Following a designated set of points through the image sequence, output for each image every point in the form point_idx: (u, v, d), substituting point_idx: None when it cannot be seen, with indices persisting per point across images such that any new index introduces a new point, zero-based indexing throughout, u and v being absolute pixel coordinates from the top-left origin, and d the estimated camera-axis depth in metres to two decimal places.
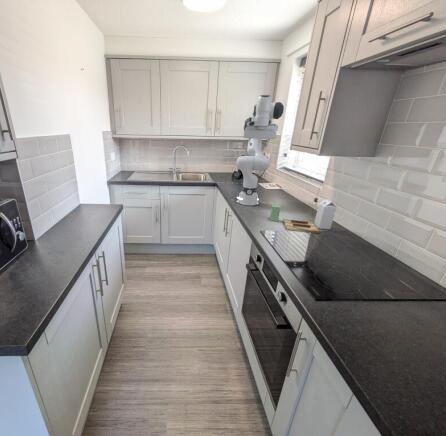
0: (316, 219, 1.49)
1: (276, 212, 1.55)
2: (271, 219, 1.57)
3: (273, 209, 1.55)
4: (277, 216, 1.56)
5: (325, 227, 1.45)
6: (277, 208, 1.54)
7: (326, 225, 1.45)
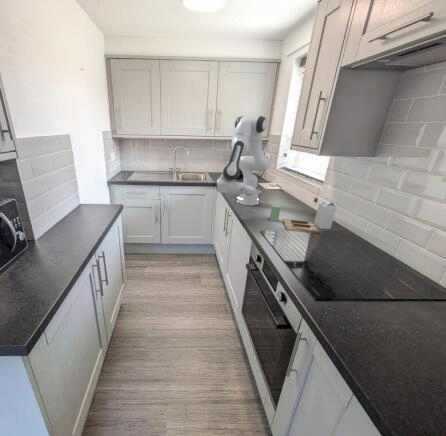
0: (316, 219, 1.49)
1: (276, 212, 1.55)
2: (271, 219, 1.57)
3: (273, 209, 1.55)
4: (277, 216, 1.56)
5: (325, 227, 1.45)
6: (277, 208, 1.54)
7: (326, 225, 1.45)
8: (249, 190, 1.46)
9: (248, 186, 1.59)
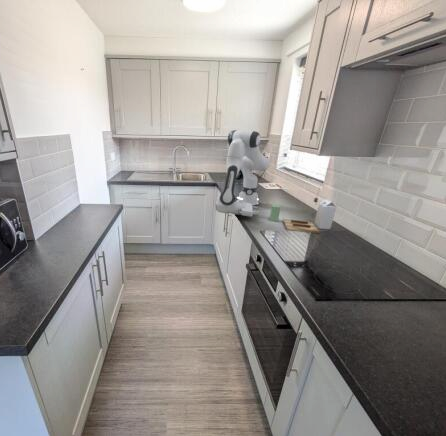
0: (316, 219, 1.49)
1: (276, 212, 1.55)
2: (271, 219, 1.57)
3: (273, 209, 1.55)
4: (277, 216, 1.56)
5: (325, 227, 1.45)
6: (277, 208, 1.54)
7: (326, 225, 1.45)
8: (246, 212, 1.52)
9: (247, 205, 1.64)
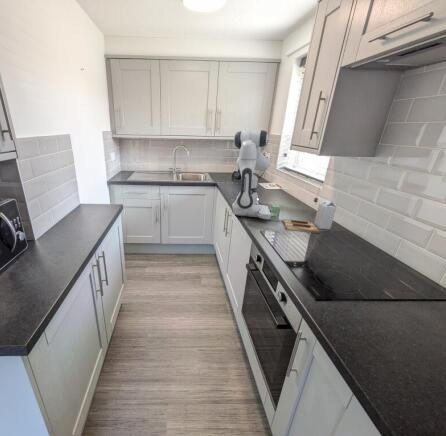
0: (316, 219, 1.49)
1: (276, 212, 1.55)
2: (271, 219, 1.57)
3: (273, 209, 1.55)
4: (277, 216, 1.56)
5: (325, 227, 1.45)
6: (277, 208, 1.54)
7: (326, 225, 1.45)
8: (264, 215, 1.50)
9: (264, 207, 1.62)
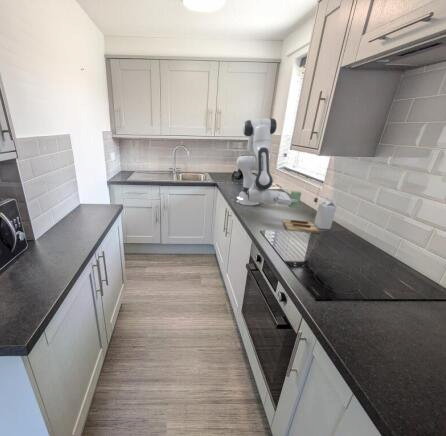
0: (316, 219, 1.49)
1: (296, 198, 1.44)
2: (291, 206, 1.46)
3: (293, 195, 1.44)
4: (297, 202, 1.44)
5: (325, 227, 1.45)
6: (298, 194, 1.43)
7: (326, 225, 1.45)
8: (284, 200, 1.39)
9: (283, 194, 1.51)
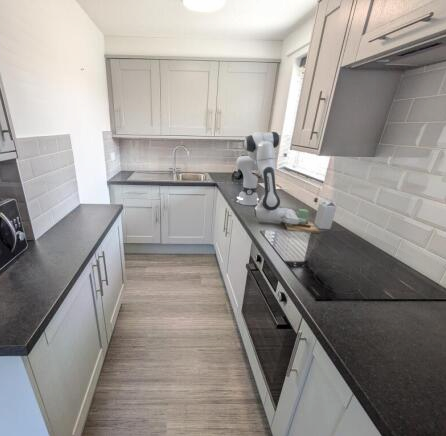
0: (316, 219, 1.49)
1: (304, 216, 1.43)
2: None
3: (300, 213, 1.43)
4: None
5: (325, 227, 1.45)
6: (305, 212, 1.43)
7: (326, 225, 1.45)
8: (291, 219, 1.39)
9: (289, 211, 1.51)
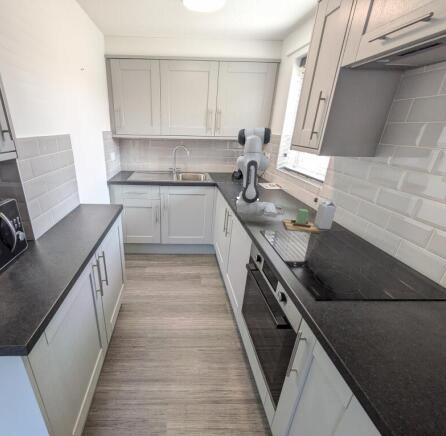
0: (316, 219, 1.49)
1: (304, 216, 1.43)
2: None
3: (300, 213, 1.43)
4: (304, 221, 1.44)
5: (325, 227, 1.45)
6: (305, 212, 1.43)
7: (326, 225, 1.45)
8: (270, 213, 1.41)
9: (270, 205, 1.53)
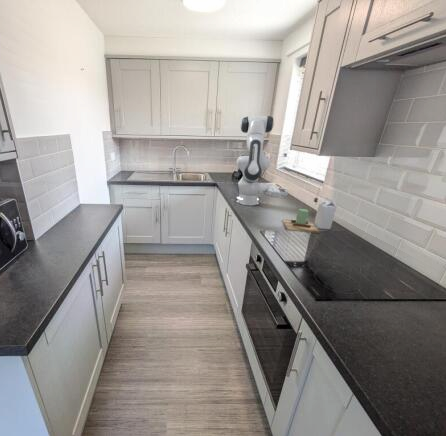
0: (316, 219, 1.49)
1: (304, 216, 1.43)
2: None
3: (300, 213, 1.43)
4: (304, 221, 1.44)
5: (325, 227, 1.45)
6: (305, 212, 1.43)
7: (326, 225, 1.45)
8: (273, 193, 1.36)
9: (273, 186, 1.48)
